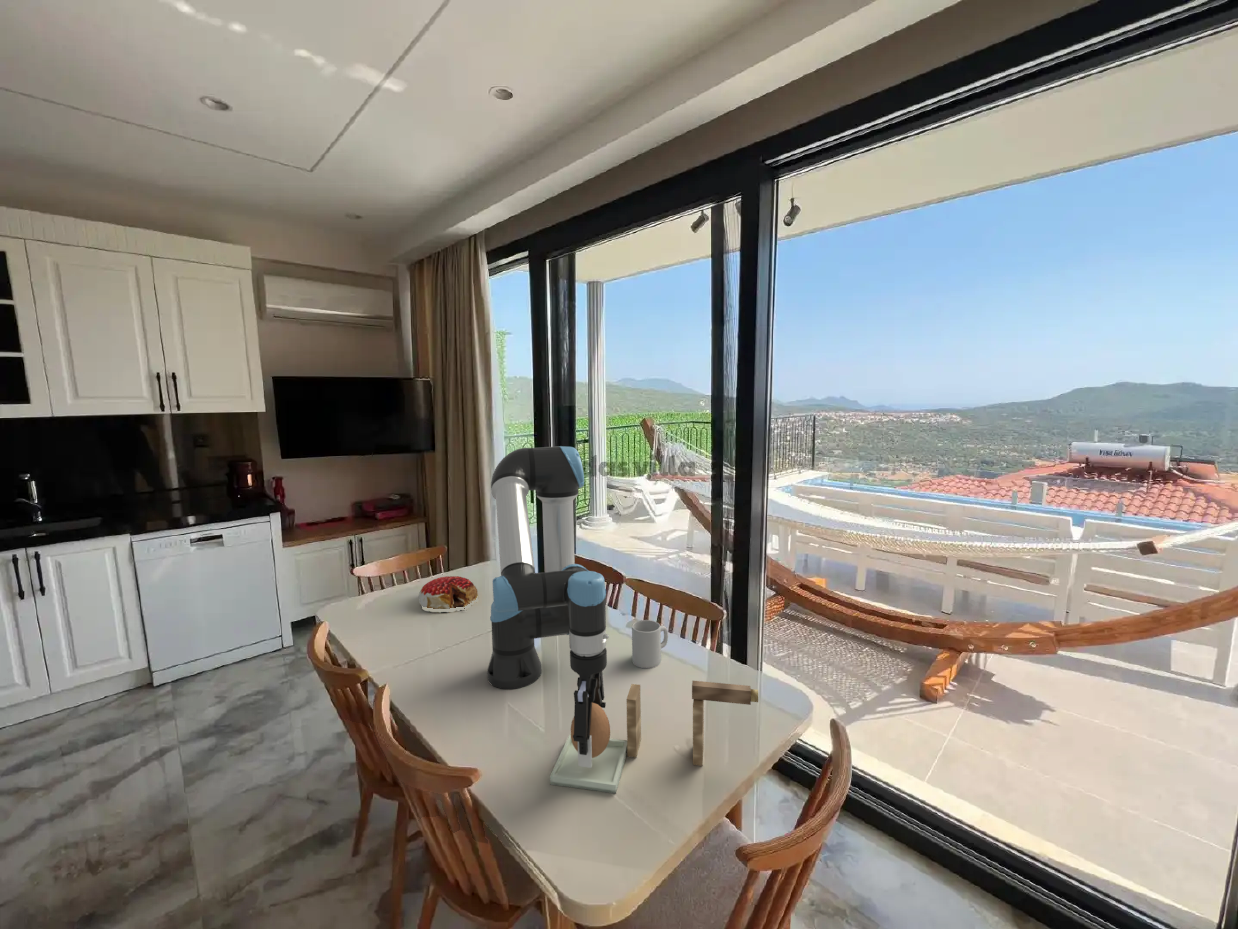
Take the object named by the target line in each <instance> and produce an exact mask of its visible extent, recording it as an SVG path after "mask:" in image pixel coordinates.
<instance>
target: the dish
mask: <svg viewBox="0 0 1238 929" xmlns="http://www.w3.org/2000/svg"><path fill="white" fill-rule="evenodd" d="M626 757H627V739H620V738H619V739H618V738H611V737H610V739H609V743H608V745H607V747H606V749H605V750H604V751H603V752H602V753H601V754H600V755H599V756H597V757H594V758H592V767H591V768H588V767H581V766H578V752H577V751H576V749H575V748H574V746H573V744H572V740H571V733H569V735H568V737H567V739H566V741H565V743H564V745H563V747H562V750H561V752H560V754H559V756H558V759H557V761H556V763H555V765H554V767H553V769H552V772H551V773H550V776H549V780H550V785H553V786H560V787H567V788H575V789H581V790H588V791H592V792H593V791H594V792H602V793H609V794H617V790H618V788H619V787H618V786H619V784H620V780H621V777H622V773H623V769H624V765H625V762H626V759H627V758H626Z"/></svg>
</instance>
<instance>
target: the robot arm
mask: <svg viewBox="0 0 1238 929" xmlns="http://www.w3.org/2000/svg"><path fill="white" fill-rule="evenodd" d="M490 481H491V482H490V491H491V496H492V498H494V500H495V504H496V505H495V507H496V508H495V509H496V519H497V520H496V523H497V534H498V536H497V538H498V549H499V551H498V554H499V565H500V566H499V567H500V576H496V577H494V578H493V579H492V598H493V601H492V603H491V605H490V618H489V619H490V622H491V642H492V643H491V644H492V646H491V648H492V653H491V656H490V660H489V663H488V666H487V669H486V670H487V676H486V677H487V682H488V681H489V682H490V683H491V684H492V685H491V684H490V683H489V682H488V683H489V684H490V685H491V686H493V687H495V688H497V687H498V689H501V690H502V689H503V690H513V689H521V688H524V687H527V686H529V685H531V684H533V683H535V682H536V681H537V680H538V679H539V678H541V676H542V672H543V671H542V663H541V660H540V657H539V653H538V652H537V649H536V647H535V639H542V638H550V637H557V636H565V635H566V636H569V641H568V642H569V643H568V644H569V649H570V650H569V660H570V661H569V662H570V663H569V664H570V665H569V666H570V669H571V670H572V671H573V672H574V673H576V674H577V675H578V676H579V677H577V680H576V686H577V689H575V690H574V691H573V700H574V711H573V712H574V715H573V718H574V735H573V738H574V741H576V742H578V766H581V767H588V768H591V767H592V738H591V735H590V725H591V712H592V702H593V703H595V704H598V705H599V706H600V707H601V708H602V709H606V705H607V704H606V703H607V702H605V701H604V699H605V688H604V676H603V674H604V673H603V671H604V670H605V668H607V666H608V665H607V664H608V655H607V654H608V652H607V639H609V638H610V636H609V634H608V633H606V632H607V628H606V627H607V626H606V625H607V620H606V619H607V618H606V617H607V615H606V614H607V610H606V603H607V602H606V597H607V589H606V583H605V577H604V576H603V574H601V573H599V572H596V571H594V570H588V569H587V568H586V566H585V567H584V566H583V565H582V564H578V563H575V530H574V529H575V527H574V500H575V499H576V498H577V497H578V495H579V489H581V488H583V487H584V485H585V474H584V467H583V464H582V459H581V456H580V453H579V451H578V450H577V448H576V447H573V446H564V445H563V446H562V445H560V446H559V445H558V446H544V447H521V448H518V449H515V450H513V451H511V452H509V453H507V455H506V456H504V457H503V458H502V459H501V460H500V461H499V463H497V466H496V467H495V469H494V471H493V473H492V475H491V480H490ZM530 491H536V497H537V498H538V499H539V500H540V502H541V503H542V527H543V528H542V529H543V531H542V532H543V557H544V558H543V559H544V560H543V561H544V572H536V566H535V560H534V558H535V557H534V551H533V550H534V549H533V544H532V535H531V528H530V520H529V511H528V510H529V509H528V502H527V496H528V494H529V492H530Z"/></svg>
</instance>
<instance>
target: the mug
mask: <svg viewBox="0 0 1238 929" xmlns="http://www.w3.org/2000/svg"><path fill="white" fill-rule="evenodd" d="M661 632H663V639H662V640H661V637H662V634H661ZM668 639H669V633H668V629H667V627H666V626H664V625H661V624H660V623H659V622H657V621H654V620H651V619H650V620H649V619H644V620H637V621H635V622H634V623H633V624H632V625H631V645H632V646H631V655H632V656H631V661H632V664H633V665H634V666H636V667H637V668H640V669H641V668H642V669H652V668H656V667H658V666H659V665H660V664H661V663H662V649H663V648H665V647H666V646H667V644H668Z"/></svg>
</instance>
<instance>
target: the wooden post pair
mask: <svg viewBox="0 0 1238 929" xmlns="http://www.w3.org/2000/svg"><path fill="white" fill-rule="evenodd" d="M692 700H693V701H692V702H693V703H692V765H693V766H700V767H703V763H704V749H705V748H704V747H705V746H704V745H705V744H704V739H705V738H704V735H705V733H704V732H705V730H704V729H705V726H704V725H705V723H704V722H705V718H704V716H705V711H704V709H705V708H704V706H705V704H704V702H705V700H697V699H692ZM641 710H642V709H641V684H637V683H636V684H633V683H631V685H630V688H629V691H628V694H627V697H626V740H627V755H626V757H629V758H637V757H638V754H639V750H640V745H641V742H642V721H641V720H642V719H641V718H642V716H641V715H642V714H641V712H642V711H641Z"/></svg>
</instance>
